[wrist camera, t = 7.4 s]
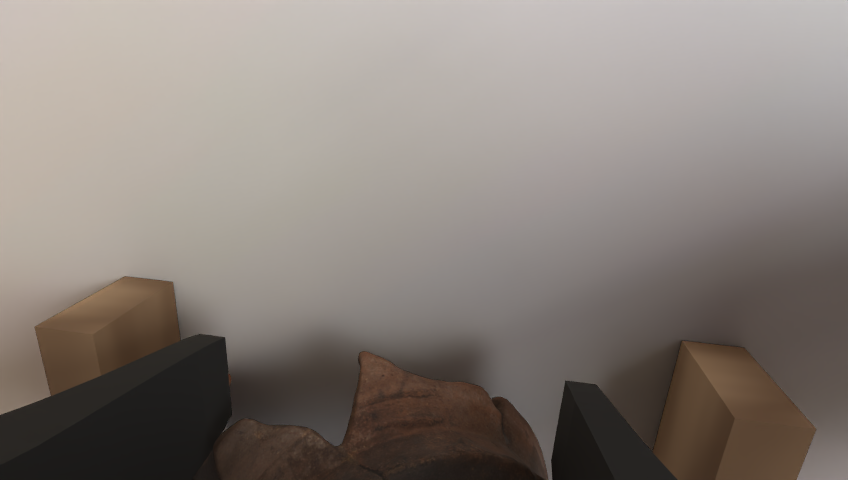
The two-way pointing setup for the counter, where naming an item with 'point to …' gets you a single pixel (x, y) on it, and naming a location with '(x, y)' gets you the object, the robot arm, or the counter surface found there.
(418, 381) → the pottery mug
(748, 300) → the counter surface
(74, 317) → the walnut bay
